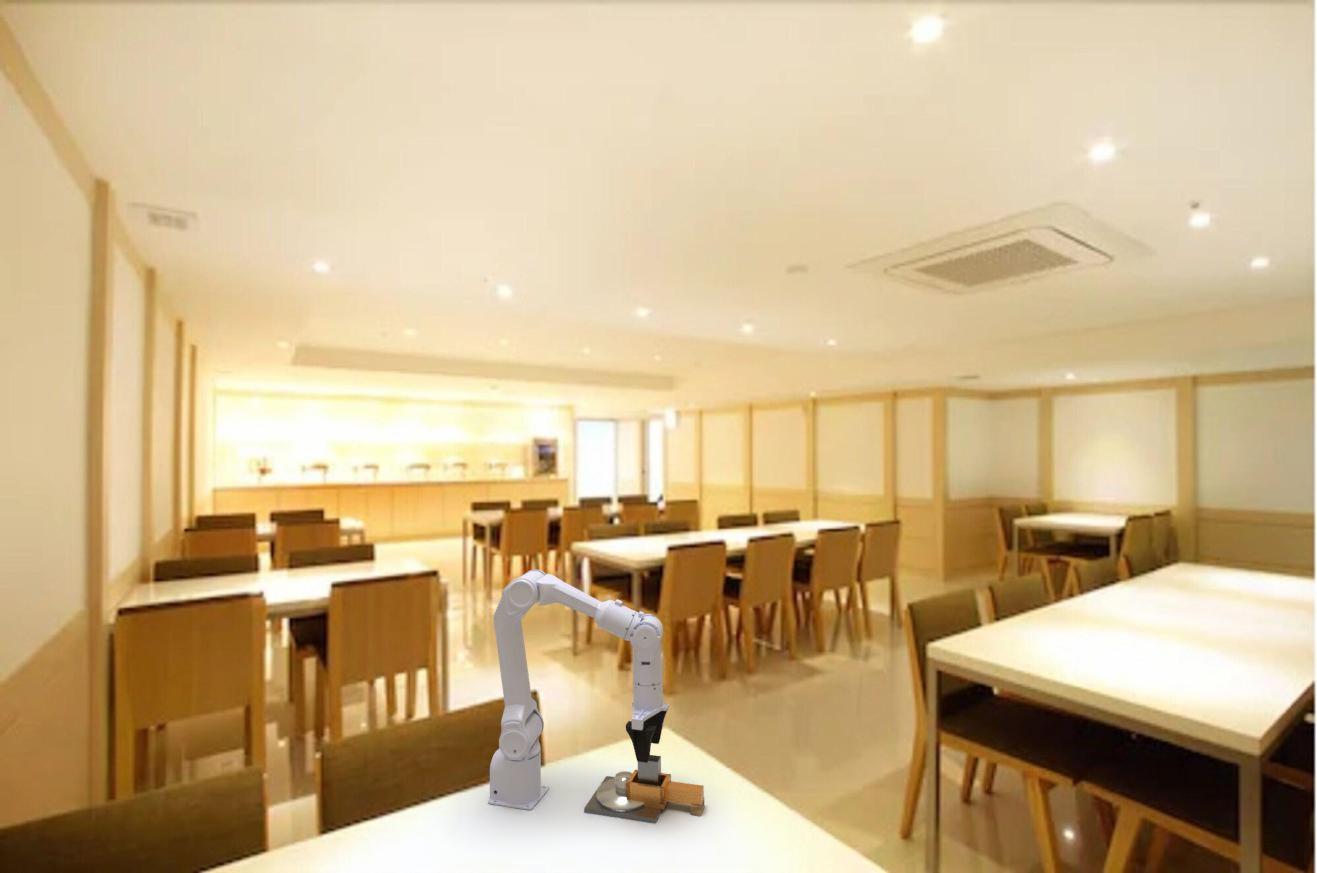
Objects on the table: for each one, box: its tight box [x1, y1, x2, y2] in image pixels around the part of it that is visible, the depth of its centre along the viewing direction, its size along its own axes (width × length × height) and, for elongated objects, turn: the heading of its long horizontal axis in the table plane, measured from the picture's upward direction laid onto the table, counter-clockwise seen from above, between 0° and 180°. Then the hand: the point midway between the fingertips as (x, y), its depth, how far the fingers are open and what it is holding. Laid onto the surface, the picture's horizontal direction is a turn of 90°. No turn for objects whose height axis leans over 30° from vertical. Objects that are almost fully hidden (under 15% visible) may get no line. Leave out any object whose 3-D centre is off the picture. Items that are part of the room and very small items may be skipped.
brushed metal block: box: [637, 754, 662, 786], centre depth 119 cm, size 4×2×7 cm, turn 74°
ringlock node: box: [583, 769, 705, 824], centre depth 119 cm, size 22×12×5 cm, turn 74°
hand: (648, 751), depth 119 cm, fingers open, 7 cm apart
